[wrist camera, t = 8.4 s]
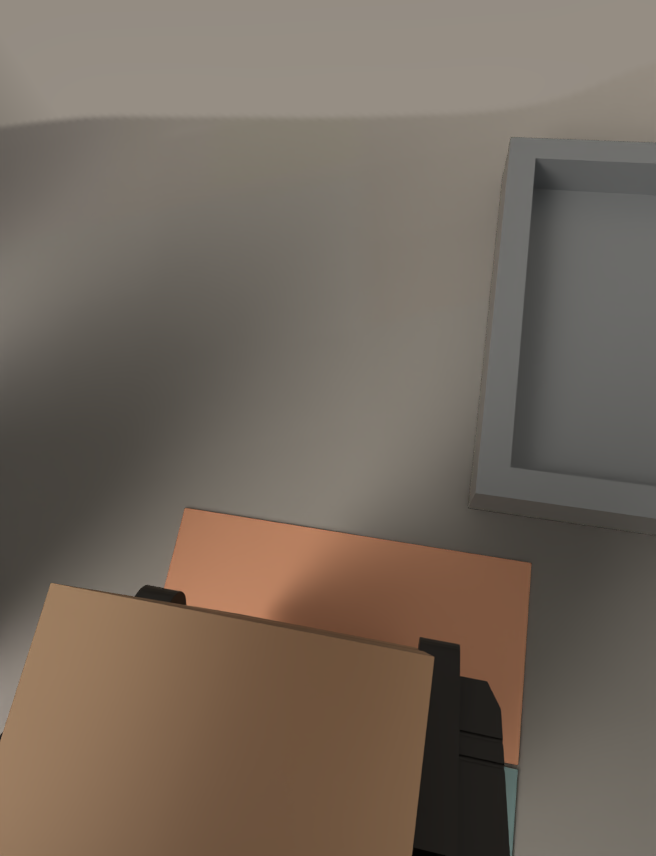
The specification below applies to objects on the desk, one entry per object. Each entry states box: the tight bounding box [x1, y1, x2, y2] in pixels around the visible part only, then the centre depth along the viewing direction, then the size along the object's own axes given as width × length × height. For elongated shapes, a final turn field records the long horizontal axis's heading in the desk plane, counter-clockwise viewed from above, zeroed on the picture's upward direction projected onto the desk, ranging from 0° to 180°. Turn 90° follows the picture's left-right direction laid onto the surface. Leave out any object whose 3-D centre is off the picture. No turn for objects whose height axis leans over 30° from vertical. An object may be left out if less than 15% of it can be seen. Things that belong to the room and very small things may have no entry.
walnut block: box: [0, 583, 434, 856], centre depth 10 cm, size 5×5×9 cm
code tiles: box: [164, 508, 531, 856], centre depth 15 cm, size 10×10×1 cm
